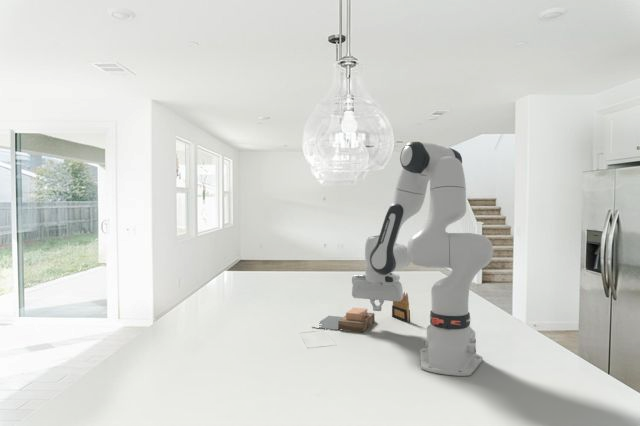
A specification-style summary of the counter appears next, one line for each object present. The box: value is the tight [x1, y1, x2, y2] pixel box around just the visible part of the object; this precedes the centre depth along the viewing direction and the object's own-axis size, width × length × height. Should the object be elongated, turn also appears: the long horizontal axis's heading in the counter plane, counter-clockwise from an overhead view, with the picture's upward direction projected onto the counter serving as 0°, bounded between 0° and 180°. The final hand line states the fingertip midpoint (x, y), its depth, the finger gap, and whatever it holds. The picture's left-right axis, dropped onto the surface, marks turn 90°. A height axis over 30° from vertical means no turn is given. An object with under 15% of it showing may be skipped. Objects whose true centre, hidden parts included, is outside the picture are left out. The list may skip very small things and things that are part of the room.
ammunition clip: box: [391, 291, 411, 324], centre depth 175 cm, size 11×2×12 cm, turn 24°
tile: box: [345, 307, 368, 320], centre depth 167 cm, size 9×6×2 cm, turn 157°
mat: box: [318, 315, 344, 331], centre depth 171 cm, size 18×11×1 cm, turn 157°
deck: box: [338, 312, 376, 333], centre depth 167 cm, size 16×10×4 cm, turn 157°
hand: (377, 310), depth 165 cm, fingers closed
